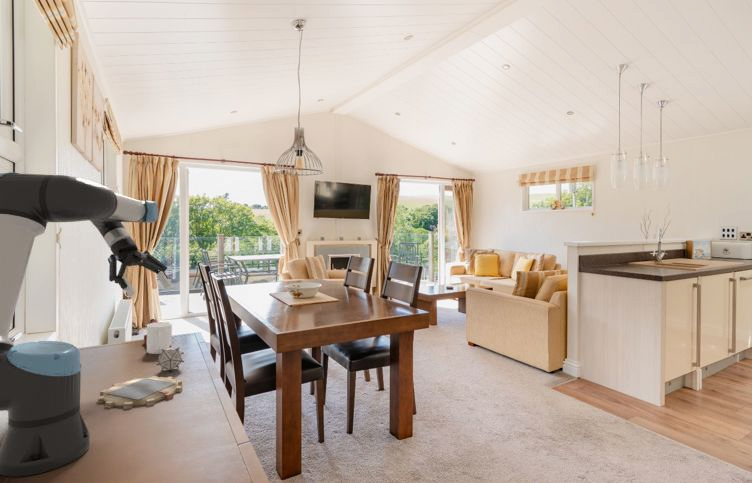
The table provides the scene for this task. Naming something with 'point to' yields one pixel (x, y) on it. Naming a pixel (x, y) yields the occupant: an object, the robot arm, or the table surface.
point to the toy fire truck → (146, 335)
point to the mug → (159, 337)
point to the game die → (170, 358)
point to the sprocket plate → (140, 392)
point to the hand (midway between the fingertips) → (151, 291)
